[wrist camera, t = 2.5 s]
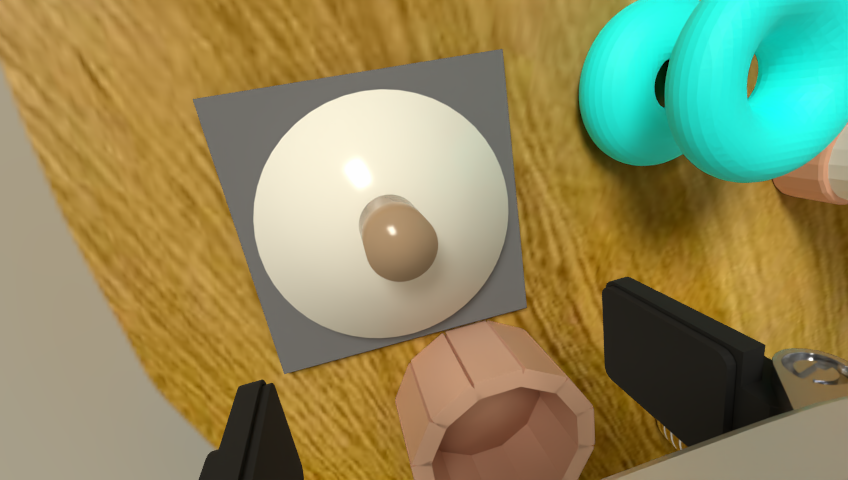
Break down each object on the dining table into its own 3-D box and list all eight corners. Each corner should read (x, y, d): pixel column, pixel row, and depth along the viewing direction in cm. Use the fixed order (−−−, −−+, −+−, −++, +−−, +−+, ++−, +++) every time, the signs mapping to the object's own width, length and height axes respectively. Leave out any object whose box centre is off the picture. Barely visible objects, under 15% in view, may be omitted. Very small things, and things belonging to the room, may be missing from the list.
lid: (487, 69, 24) (531, 58, 19) (512, 297, 29) (552, 337, 24) (219, 116, 21) (186, 118, 16) (296, 356, 26) (289, 414, 21)
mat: (498, 50, 24) (502, 48, 24) (522, 303, 30) (526, 307, 29) (196, 99, 21) (192, 99, 21) (285, 368, 27) (284, 373, 26)
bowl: (542, 304, 30) (591, 348, 25) (552, 431, 34) (596, 494, 28) (382, 348, 28) (397, 406, 23) (413, 477, 32) (431, 554, 27)
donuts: (868, 168, 20) (694, 204, 18) (696, 151, 29) (570, 173, 28) (920, -72, 17) (716, -56, 15) (709, -6, 26) (568, 8, 24)
